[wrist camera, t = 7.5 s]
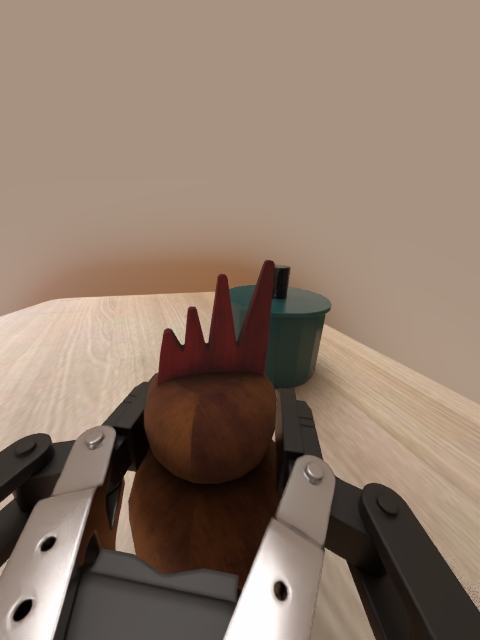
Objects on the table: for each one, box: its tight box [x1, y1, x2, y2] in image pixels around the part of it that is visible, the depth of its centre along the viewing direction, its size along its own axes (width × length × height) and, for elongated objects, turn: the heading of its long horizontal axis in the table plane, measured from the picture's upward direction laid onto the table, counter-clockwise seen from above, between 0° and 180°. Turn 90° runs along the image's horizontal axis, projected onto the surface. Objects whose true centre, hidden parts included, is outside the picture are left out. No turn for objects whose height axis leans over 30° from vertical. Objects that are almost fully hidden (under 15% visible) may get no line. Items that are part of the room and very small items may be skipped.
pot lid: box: [229, 265, 331, 318], centre depth 27 cm, size 12×12×5 cm
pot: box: [231, 306, 325, 389], centre depth 29 cm, size 11×11×8 cm
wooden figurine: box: [128, 260, 282, 591], centre depth 10 cm, size 7×6×15 cm
